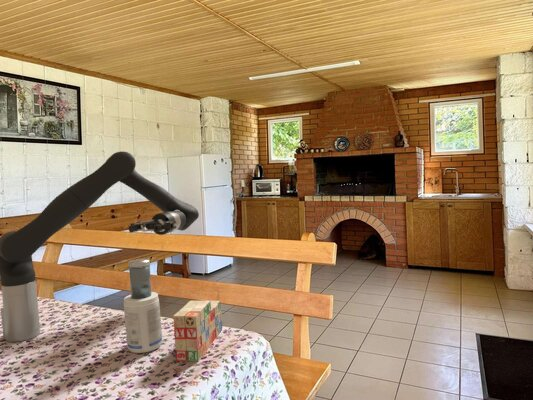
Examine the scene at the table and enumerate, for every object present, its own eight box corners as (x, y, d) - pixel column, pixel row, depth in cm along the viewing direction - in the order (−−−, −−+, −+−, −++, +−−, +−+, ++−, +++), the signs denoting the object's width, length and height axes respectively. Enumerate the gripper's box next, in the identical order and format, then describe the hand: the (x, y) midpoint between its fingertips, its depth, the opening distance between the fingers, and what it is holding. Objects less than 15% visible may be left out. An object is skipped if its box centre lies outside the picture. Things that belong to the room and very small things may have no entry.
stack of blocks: (203, 329, 123) (201, 290, 122) (222, 329, 122) (220, 290, 121) (175, 361, 102) (172, 315, 101) (198, 362, 101) (195, 315, 100)
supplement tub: (159, 337, 118) (155, 289, 117) (165, 349, 109) (162, 297, 108) (125, 344, 114) (121, 294, 113) (129, 357, 105) (125, 303, 104)
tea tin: (126, 298, 109) (124, 263, 108) (137, 292, 114) (135, 258, 113) (145, 299, 107) (143, 263, 107) (155, 293, 113) (153, 258, 112)
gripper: (147, 212, 141) (121, 217, 125) (184, 211, 138) (162, 216, 122) (148, 233, 141) (122, 241, 125) (185, 232, 138) (163, 240, 122)
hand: (142, 229), depth 124 cm, fingers open, 8 cm apart
